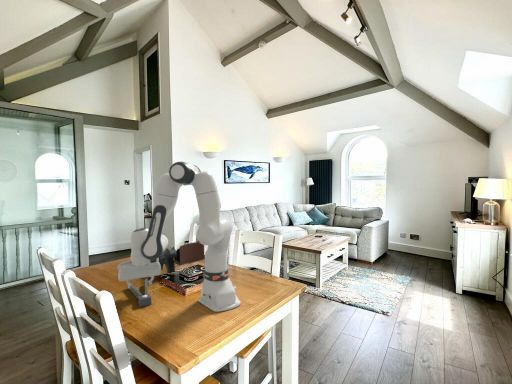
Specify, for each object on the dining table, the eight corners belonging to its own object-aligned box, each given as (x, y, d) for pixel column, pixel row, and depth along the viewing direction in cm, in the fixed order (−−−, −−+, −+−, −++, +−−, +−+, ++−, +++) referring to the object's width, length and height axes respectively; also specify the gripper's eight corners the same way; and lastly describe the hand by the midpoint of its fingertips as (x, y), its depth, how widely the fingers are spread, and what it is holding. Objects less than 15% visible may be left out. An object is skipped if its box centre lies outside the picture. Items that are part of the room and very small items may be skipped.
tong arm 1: (142, 300, 127) (142, 294, 127) (139, 301, 126) (139, 295, 126) (130, 286, 144) (130, 281, 144) (127, 287, 143) (127, 282, 143)
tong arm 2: (148, 299, 128) (148, 293, 128) (145, 300, 128) (145, 294, 128) (147, 283, 149) (147, 278, 149) (144, 284, 148) (144, 278, 148)
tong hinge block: (151, 304, 124) (151, 296, 124) (139, 307, 122) (139, 299, 122) (149, 300, 128) (149, 293, 128) (138, 303, 126) (138, 295, 125)
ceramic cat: (177, 275, 164) (177, 243, 163) (168, 277, 159) (167, 245, 158) (162, 267, 177) (162, 238, 177) (153, 270, 173) (152, 240, 172)
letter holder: (204, 259, 197) (204, 240, 196) (180, 265, 184) (179, 245, 183) (197, 256, 204) (197, 238, 204) (173, 262, 191) (173, 242, 190)
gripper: (117, 264, 127) (118, 292, 127) (161, 258, 137) (161, 284, 138) (117, 260, 132) (117, 287, 133) (159, 255, 142) (159, 280, 143)
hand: (140, 286), depth 135 cm, fingers open, 8 cm apart
